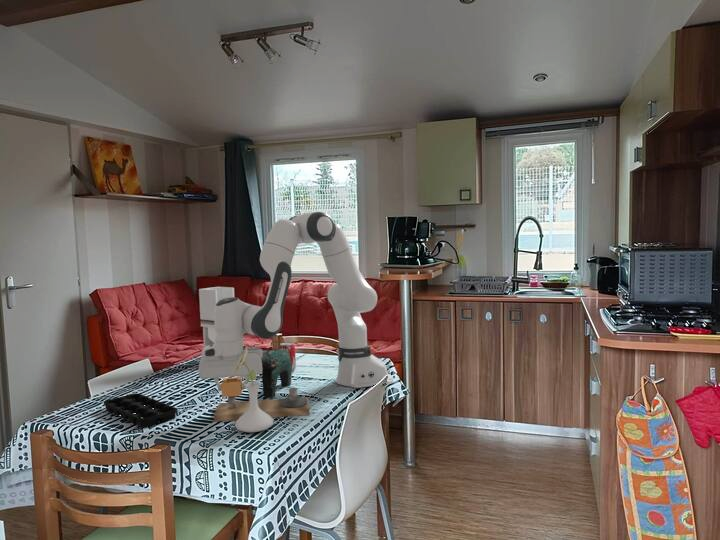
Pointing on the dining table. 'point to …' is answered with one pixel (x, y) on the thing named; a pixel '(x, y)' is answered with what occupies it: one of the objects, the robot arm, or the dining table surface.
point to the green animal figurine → (275, 370)
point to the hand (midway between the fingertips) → (232, 389)
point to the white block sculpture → (211, 310)
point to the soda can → (290, 352)
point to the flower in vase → (252, 405)
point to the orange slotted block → (231, 387)
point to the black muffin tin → (140, 409)
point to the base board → (264, 407)
